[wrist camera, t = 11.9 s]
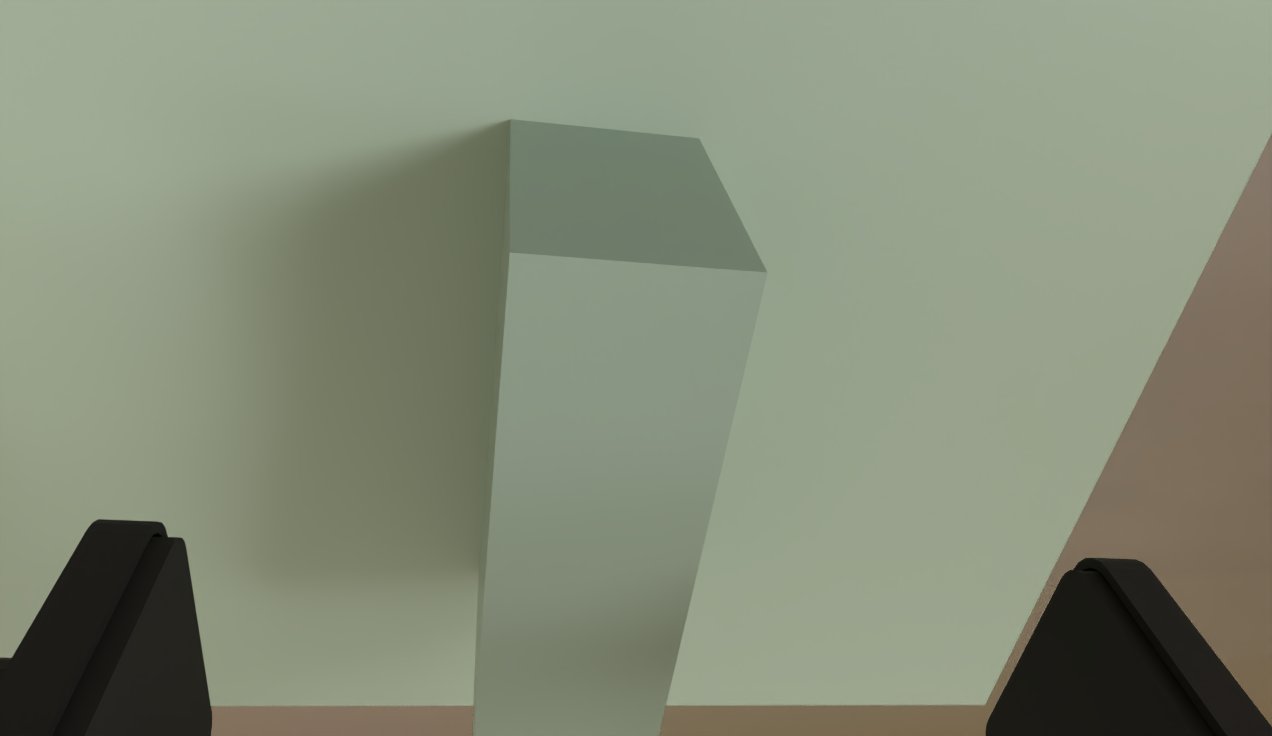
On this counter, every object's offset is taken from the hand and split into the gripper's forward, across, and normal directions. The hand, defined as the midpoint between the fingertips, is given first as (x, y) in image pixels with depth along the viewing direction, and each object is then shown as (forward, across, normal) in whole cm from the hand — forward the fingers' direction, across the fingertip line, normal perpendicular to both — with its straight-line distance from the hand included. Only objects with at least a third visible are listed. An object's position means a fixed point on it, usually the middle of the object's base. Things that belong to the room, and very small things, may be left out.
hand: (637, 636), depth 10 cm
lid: (+7, +1, 0) cm, 7 cm away
